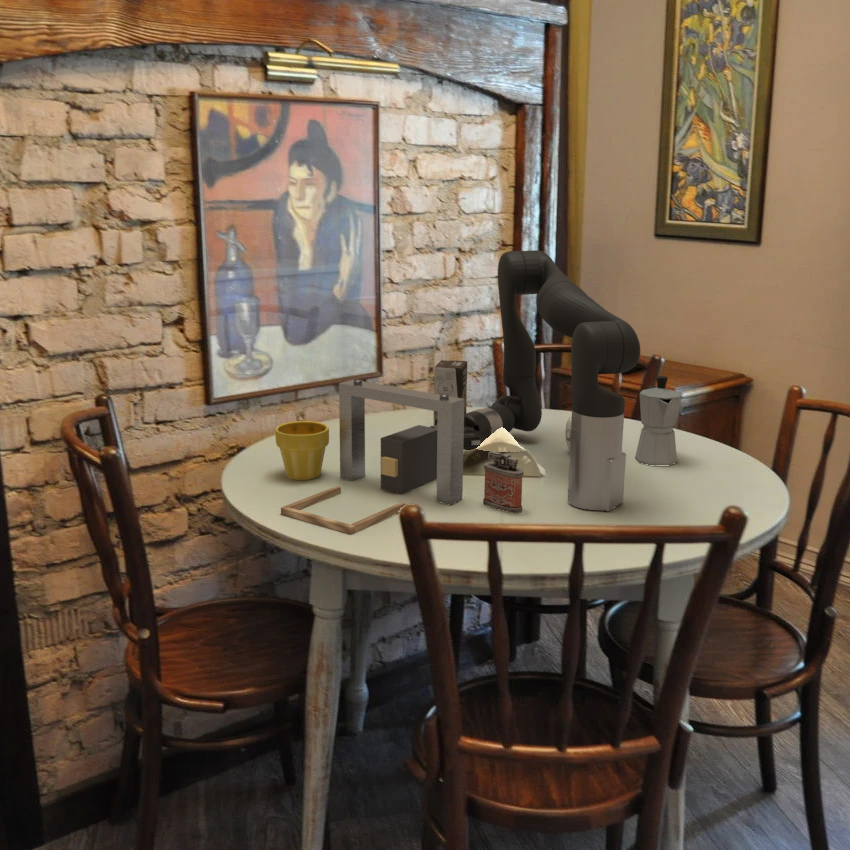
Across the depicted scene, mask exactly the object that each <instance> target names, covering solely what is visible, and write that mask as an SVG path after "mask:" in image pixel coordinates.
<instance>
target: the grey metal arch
mask: <svg viewBox="0 0 850 850" xmlns="http://www.w3.org/2000/svg"><path fill="white" fill-rule="evenodd" d="M365 399H368V400H373V401H379V402H385V403H388V404H390V403H391V404H394V405H401V406H406V407H409V408H410V407H412V408H416V409H422V410H428V411H431V412H432V411H433V412H434V411H437V412H438V428H437V479H436V502H437V501H438V502H437V503H439V502H442V503H441V504H443V503H445V504H444V505H447V504H449V505H448V506H452V505H453V503H454V504H456V503H458V502H460V501H462V500H463V491H464V490H463V486H464V485H463V483H464V482H463V480H464V479H463V478H464V449H463V444H464V399H462V398H456V397H450V396H449V395H447V394H441V395H439V394H434V392H433V393H432V392H426V391H421V390H414V389H409V388H403V387H398V386H392V385H391V386H390V385H386V384H380V383H375V382H368V381H363V379H349V380H345V381H343V382H339V383H338V402H339V403H338V406H339V407H338V409H339V413H338V414H339V415H338V416H339V418H338V419H339V470H340V471H339V473H340V476H339V477H340V479H342V478H343V480H346V479H347V480H346V481H350V480H351V482H354V481H356V480H358V478H359V479H360V478H361V479H362V478H364V477H365V476H366V427H365V426H366V423H365V422H366V419H365V418H366V411H365V409H366V408H365V407H366V401H365ZM459 500H460V501H459ZM455 502H456V503H455ZM451 504H452V505H451Z"/></svg>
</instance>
